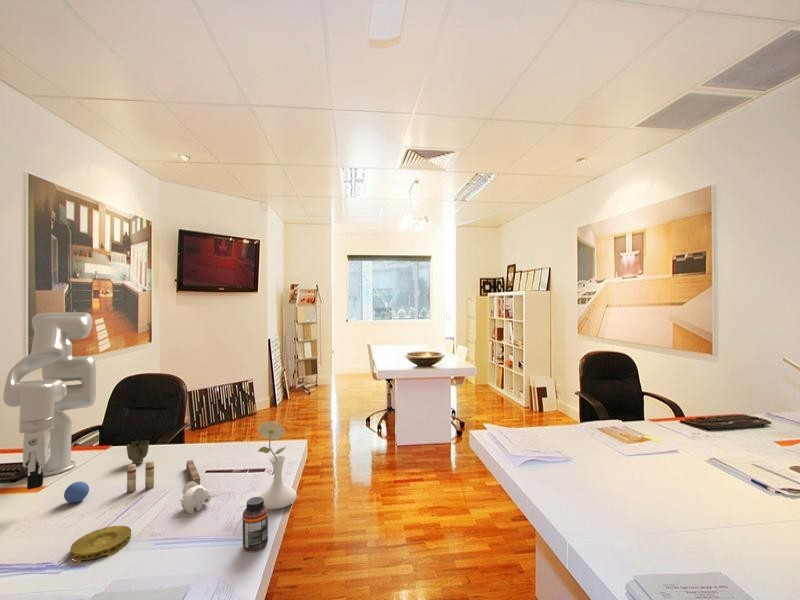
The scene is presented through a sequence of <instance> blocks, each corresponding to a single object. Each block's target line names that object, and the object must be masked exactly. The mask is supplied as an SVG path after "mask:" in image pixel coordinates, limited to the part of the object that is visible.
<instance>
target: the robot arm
mask: <svg viewBox="0 0 800 600" xmlns="http://www.w3.org/2000/svg"><path fill="white" fill-rule="evenodd" d="M93 321H94V319H93V316H92V315H91V313H90V312H84V311H83V312H82V311H79V312H77V311H76V312H69V311H68V312H63V311H61V312H58V311H57V312H55V311H54V312H51V311H49V312H42V313H41V312H40V313H37V314H35V315H33V317H32V319H31V324H32V329H33V331H34V334H33V339H32V345H31V351H30V353H29V354H28V355H26V356H25V357H23V358H21V359H20V360H19V361H18V362H17V363H16V364H15V365H14V366H13V367H11V369H10V370H9V372H8V374H7V376H6V380H5V384H4V388H3V389H4V390H3V395H2V399H3V402H4V405H6V406H7V407H11V408H12V407H13V408H15V407H18V408H19V421H18V425H19V426H18V427H19V428H18V432H19V434H23V443H22V444H23V446H22V447H23V448H22V466H23V468H27V479H26V490H32V489H38V488H41V487H42V486H43V484H44V477H47V476H53V475H57V474H61V473H65V472H67V471H70V470H72V469H73V468H75V467H76V466H77V462H76V461H75V460H72V459H71V458H72V457H71V456H72V425H73V423H72V419H71V418H70V416H69V415H68V414H66V412H65V411H69V410H77V409H86V408H90V407H92V406H93V405H94V403H95V402H96V393H97V392H96V390H97V366H96V360H95V359H94V357H92V356H88V355H81V356H79V355H77V356H73V343H72V342H71V340H78V339H79V340H81V339H85V338H86V339H87V337H88V336H89V335H90V333H91V331H92V329H93V325H94V323H93ZM39 369H41V378H42V379H41V380H40V379H39V380H27V381H24V380H23V381H22V379H23V378H24V377H26V376H27V375H29V373H32V372H35V371H36V370H39ZM65 382H80V383H75V384H66V383H65Z"/></svg>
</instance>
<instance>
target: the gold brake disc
mask: <svg viewBox="0 0 800 600" xmlns="http://www.w3.org/2000/svg"><path fill="white" fill-rule="evenodd" d="M131 538H132V529H131V527H129V526H127V525H111V526H107V527H103V528H100V529H96V530H93V531H91V532H89V533H86V534H85V535H83V536H81V537H79V538H78V539H77V540H76V541H74V542H73V543H72V544H71V546H70V552H69V553H70V554H69V555H71V556H70V559H71V558H72V559H74V560H76V561H75V562H77V561H82V560H83V561H86V560H89V561H90V560H93V559H97V558H98V559H99V558H102V557H104V556H106V557H108V556H111V555H113V554H115V553H117V552H119V551H121V550H122V549H123V548H125V545H126V544H128V543H129V542H130V540H131ZM72 559H71V560H72ZM83 561H82V562H83Z"/></svg>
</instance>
